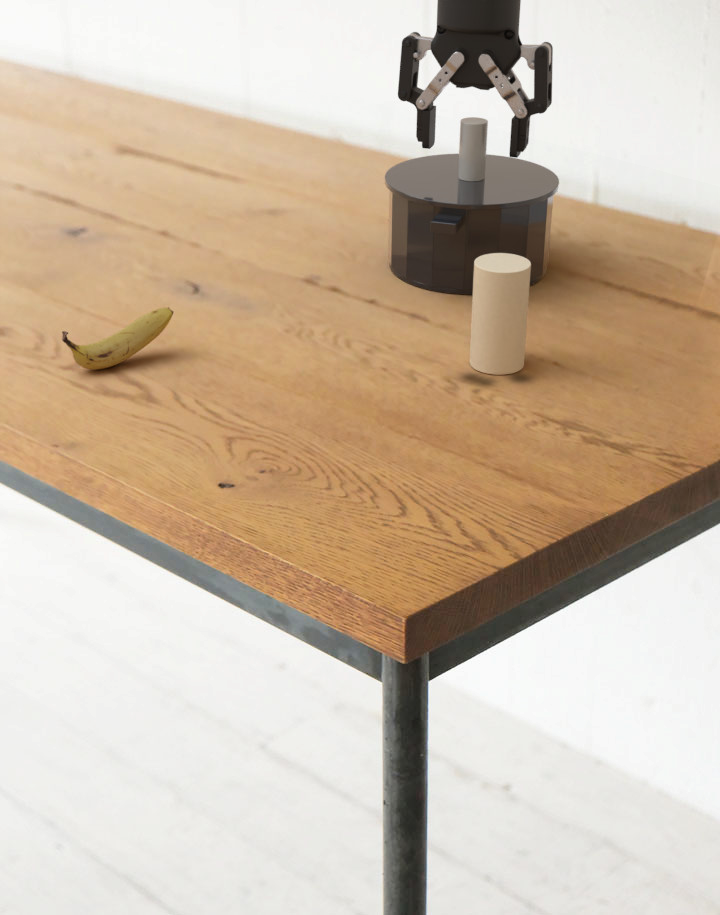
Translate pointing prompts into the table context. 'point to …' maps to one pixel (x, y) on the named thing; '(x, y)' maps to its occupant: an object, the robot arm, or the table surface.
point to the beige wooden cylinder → (499, 313)
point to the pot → (463, 241)
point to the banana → (121, 341)
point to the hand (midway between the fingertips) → (471, 151)
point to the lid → (472, 176)
